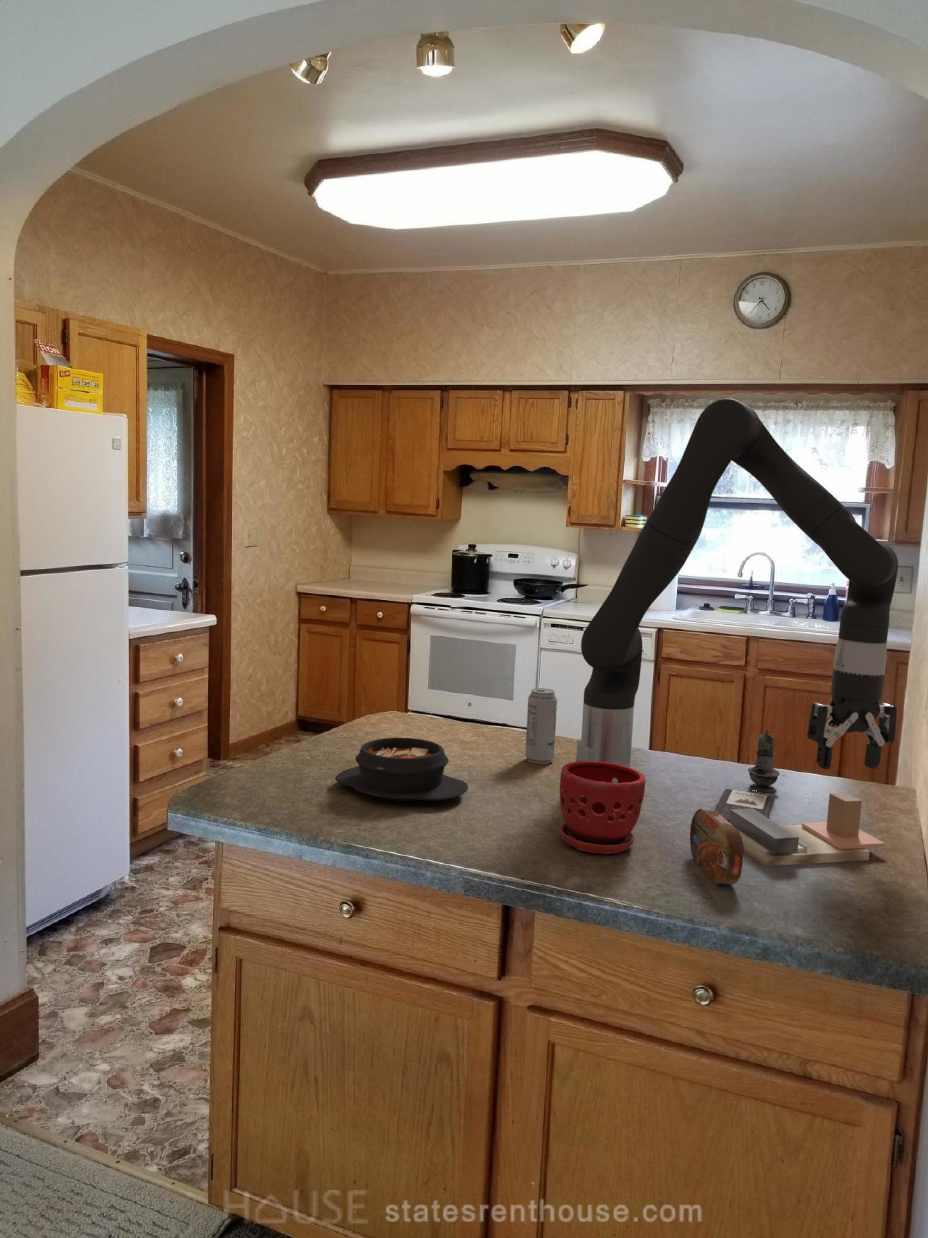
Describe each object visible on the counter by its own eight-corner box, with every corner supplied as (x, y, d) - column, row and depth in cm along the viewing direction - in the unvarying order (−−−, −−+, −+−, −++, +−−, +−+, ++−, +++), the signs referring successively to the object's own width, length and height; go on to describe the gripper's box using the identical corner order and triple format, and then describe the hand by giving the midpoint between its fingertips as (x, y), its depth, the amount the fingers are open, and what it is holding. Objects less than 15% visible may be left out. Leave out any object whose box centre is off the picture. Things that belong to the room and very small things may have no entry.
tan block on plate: (839, 849, 138) (843, 808, 137) (801, 826, 148) (804, 788, 147) (884, 846, 140) (888, 806, 139) (843, 824, 149) (847, 786, 149)
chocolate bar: (710, 816, 154) (725, 788, 171) (710, 821, 154) (725, 793, 171) (765, 825, 151) (774, 796, 167) (764, 831, 151) (774, 801, 167)
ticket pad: (766, 867, 134) (769, 838, 133) (723, 836, 146) (725, 809, 146) (870, 861, 138) (873, 833, 137) (819, 831, 150) (821, 805, 150)
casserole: (314, 795, 159) (315, 749, 158) (366, 769, 176) (368, 727, 175) (441, 819, 149) (443, 770, 148) (483, 789, 166) (485, 745, 165)
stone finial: (774, 785, 175) (779, 726, 174) (781, 795, 170) (787, 733, 168) (743, 783, 176) (748, 724, 174) (750, 793, 170) (755, 731, 169)
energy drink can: (555, 765, 183) (558, 694, 181) (525, 764, 183) (529, 693, 182) (552, 757, 189) (556, 688, 187) (524, 756, 189) (527, 687, 187)
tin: (686, 853, 138) (690, 800, 137) (706, 853, 139) (710, 801, 138) (722, 894, 124) (727, 836, 123) (744, 894, 124) (749, 836, 123)
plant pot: (621, 867, 132) (627, 788, 130) (542, 846, 139) (546, 772, 137) (652, 841, 143) (657, 768, 141) (578, 823, 150) (582, 754, 148)
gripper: (834, 672, 135) (822, 776, 137) (914, 673, 138) (902, 774, 140) (805, 663, 142) (794, 761, 144) (882, 664, 146) (870, 760, 148)
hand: (847, 767), depth 142 cm, fingers open, 8 cm apart
